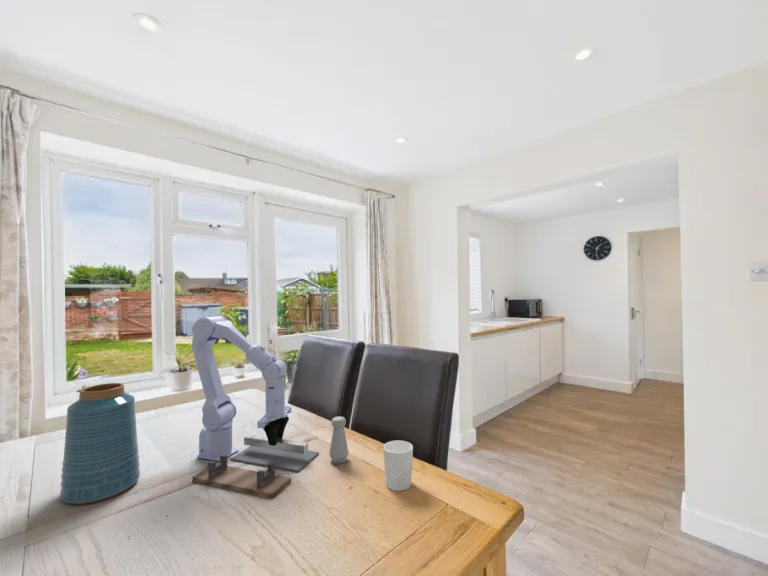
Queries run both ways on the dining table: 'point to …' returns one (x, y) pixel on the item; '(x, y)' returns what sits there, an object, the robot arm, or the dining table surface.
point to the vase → (100, 445)
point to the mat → (275, 458)
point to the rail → (280, 444)
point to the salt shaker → (338, 441)
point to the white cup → (398, 464)
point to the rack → (243, 479)
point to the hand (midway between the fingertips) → (275, 443)
